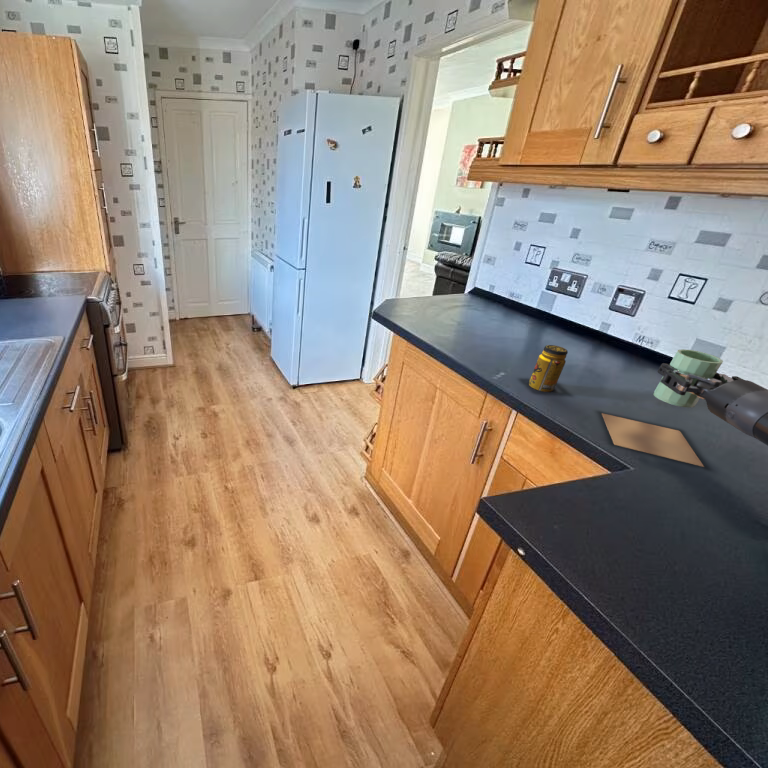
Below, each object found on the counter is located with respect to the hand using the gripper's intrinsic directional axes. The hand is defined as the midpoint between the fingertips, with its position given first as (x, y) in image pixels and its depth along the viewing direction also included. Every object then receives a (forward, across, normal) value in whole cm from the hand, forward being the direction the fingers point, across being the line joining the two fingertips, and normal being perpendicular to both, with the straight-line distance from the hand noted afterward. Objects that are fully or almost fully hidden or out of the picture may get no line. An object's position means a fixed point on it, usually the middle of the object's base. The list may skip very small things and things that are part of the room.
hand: (680, 369), depth 85 cm
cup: (-2, 0, +6) cm, 6 cm away
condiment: (+21, +11, +18) cm, 30 cm away
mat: (0, -1, +17) cm, 17 cm away
